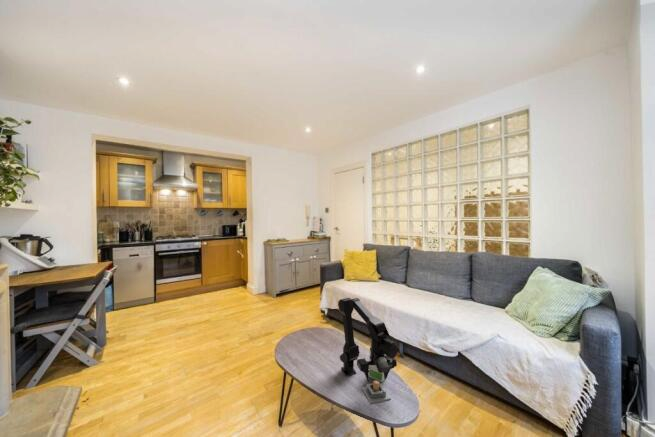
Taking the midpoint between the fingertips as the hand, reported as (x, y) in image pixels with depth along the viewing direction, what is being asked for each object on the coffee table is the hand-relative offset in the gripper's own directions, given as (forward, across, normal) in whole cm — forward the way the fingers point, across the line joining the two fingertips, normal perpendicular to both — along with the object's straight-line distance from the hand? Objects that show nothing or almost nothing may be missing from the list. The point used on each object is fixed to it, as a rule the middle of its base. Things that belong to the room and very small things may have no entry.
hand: (376, 380), depth 120 cm
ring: (+6, 0, 0) cm, 6 cm away
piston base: (+7, 0, 0) cm, 7 cm away
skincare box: (+7, +7, +12) cm, 16 cm away
